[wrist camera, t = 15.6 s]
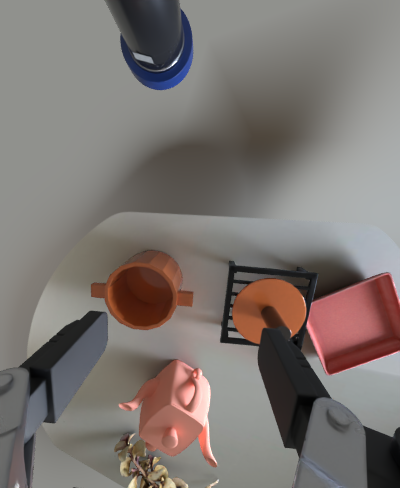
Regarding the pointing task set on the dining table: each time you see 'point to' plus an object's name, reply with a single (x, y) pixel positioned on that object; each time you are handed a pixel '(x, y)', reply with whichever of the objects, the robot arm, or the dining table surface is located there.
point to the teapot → (174, 410)
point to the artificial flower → (145, 466)
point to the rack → (234, 269)
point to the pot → (144, 290)
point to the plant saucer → (356, 324)
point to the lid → (268, 309)
